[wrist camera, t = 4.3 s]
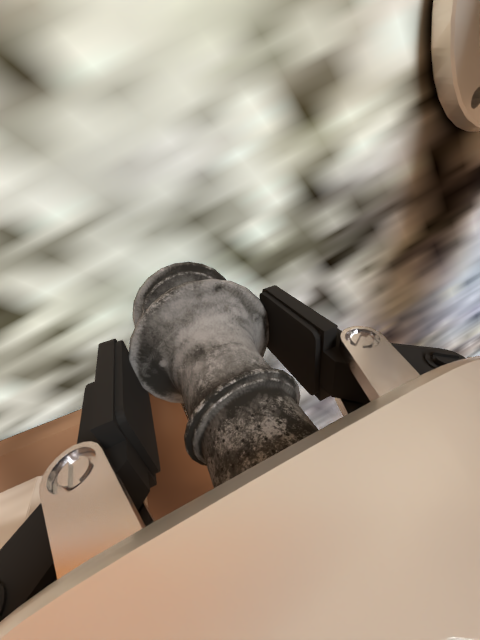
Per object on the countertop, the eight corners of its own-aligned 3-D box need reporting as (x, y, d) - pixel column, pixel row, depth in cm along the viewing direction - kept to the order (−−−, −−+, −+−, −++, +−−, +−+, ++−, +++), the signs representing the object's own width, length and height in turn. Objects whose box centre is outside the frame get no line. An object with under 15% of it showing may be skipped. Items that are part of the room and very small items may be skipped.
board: (169, 374, 14) (187, 439, 11) (215, 486, 22) (235, 546, 18) (-297, 558, 9) (-558, 796, 6) (-28, 620, 17) (-67, 739, 13)
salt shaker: (257, 290, 14) (557, 521, 4) (202, 369, 15) (352, 696, 6) (165, 230, 11) (601, 656, 1) (103, 337, 12) (40, 1049, 2)
